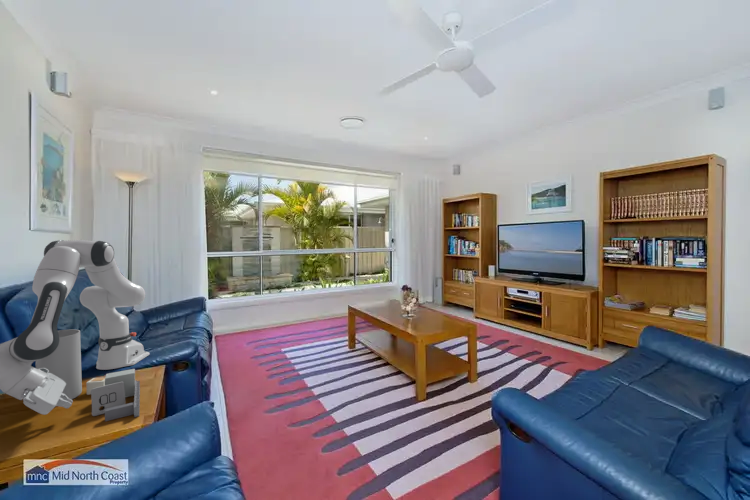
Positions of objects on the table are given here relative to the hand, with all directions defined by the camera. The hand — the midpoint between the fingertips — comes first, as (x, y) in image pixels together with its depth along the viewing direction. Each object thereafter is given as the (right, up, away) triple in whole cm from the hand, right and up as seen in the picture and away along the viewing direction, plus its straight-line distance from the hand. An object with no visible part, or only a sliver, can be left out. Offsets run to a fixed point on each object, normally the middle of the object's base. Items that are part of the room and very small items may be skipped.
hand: (70, 404), depth 112 cm
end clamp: (+16, -5, +2) cm, 17 cm away
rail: (+15, -4, +11) cm, 19 cm away
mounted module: (+5, -4, +16) cm, 17 cm away
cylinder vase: (-17, -4, +14) cm, 22 cm away
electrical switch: (+8, -5, +6) cm, 11 cm away
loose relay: (-7, -4, +19) cm, 20 cm away
